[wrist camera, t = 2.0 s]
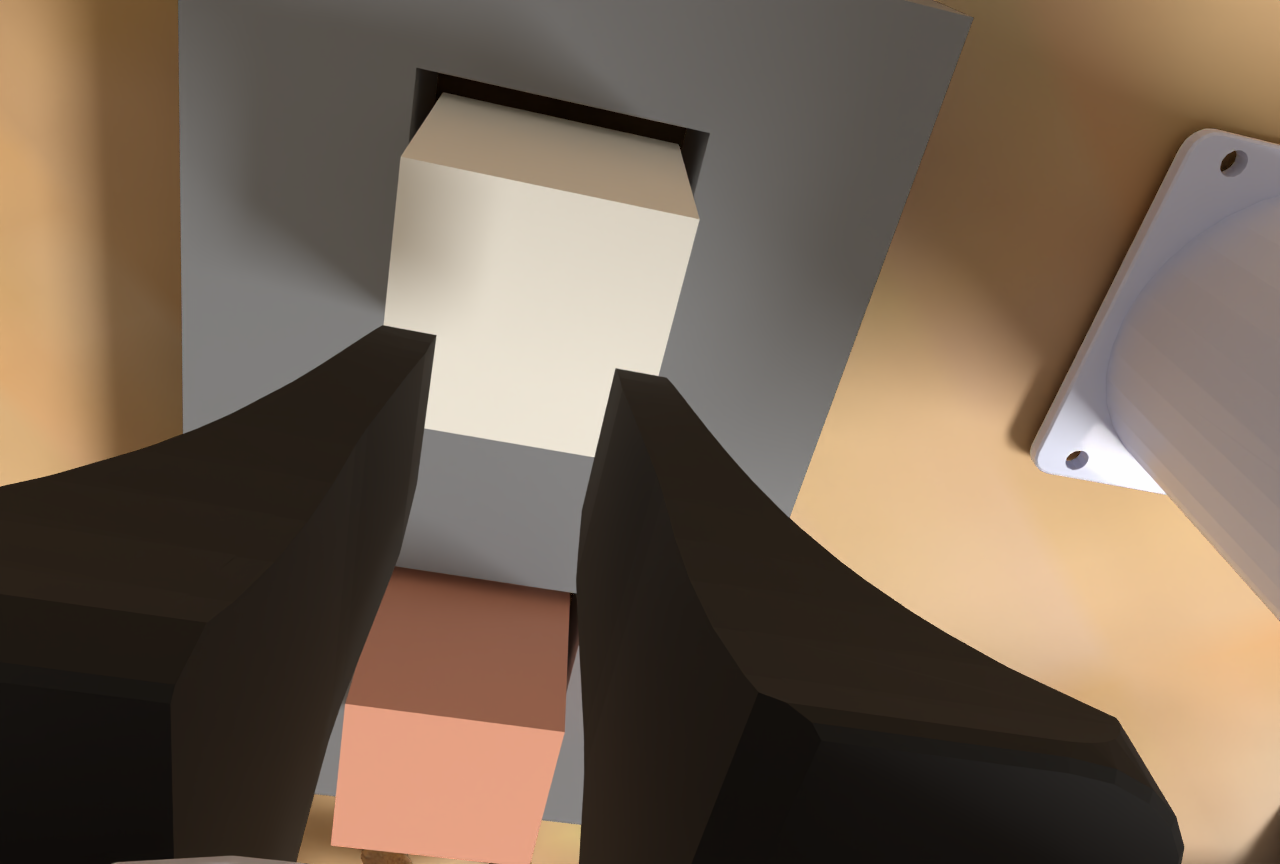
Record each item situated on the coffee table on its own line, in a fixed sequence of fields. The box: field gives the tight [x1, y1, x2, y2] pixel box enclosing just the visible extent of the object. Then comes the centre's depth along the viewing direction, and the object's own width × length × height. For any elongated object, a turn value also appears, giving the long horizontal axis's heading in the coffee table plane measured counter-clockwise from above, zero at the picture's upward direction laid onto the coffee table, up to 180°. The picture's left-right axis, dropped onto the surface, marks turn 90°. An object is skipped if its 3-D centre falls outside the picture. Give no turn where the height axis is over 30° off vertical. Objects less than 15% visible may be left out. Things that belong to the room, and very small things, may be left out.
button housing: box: [178, 0, 973, 825], centre depth 21 cm, size 12×20×3 cm, turn 167°
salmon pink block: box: [331, 566, 570, 864], centre depth 20 cm, size 4×4×4 cm
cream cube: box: [384, 92, 700, 457], centre depth 16 cm, size 4×4×4 cm
